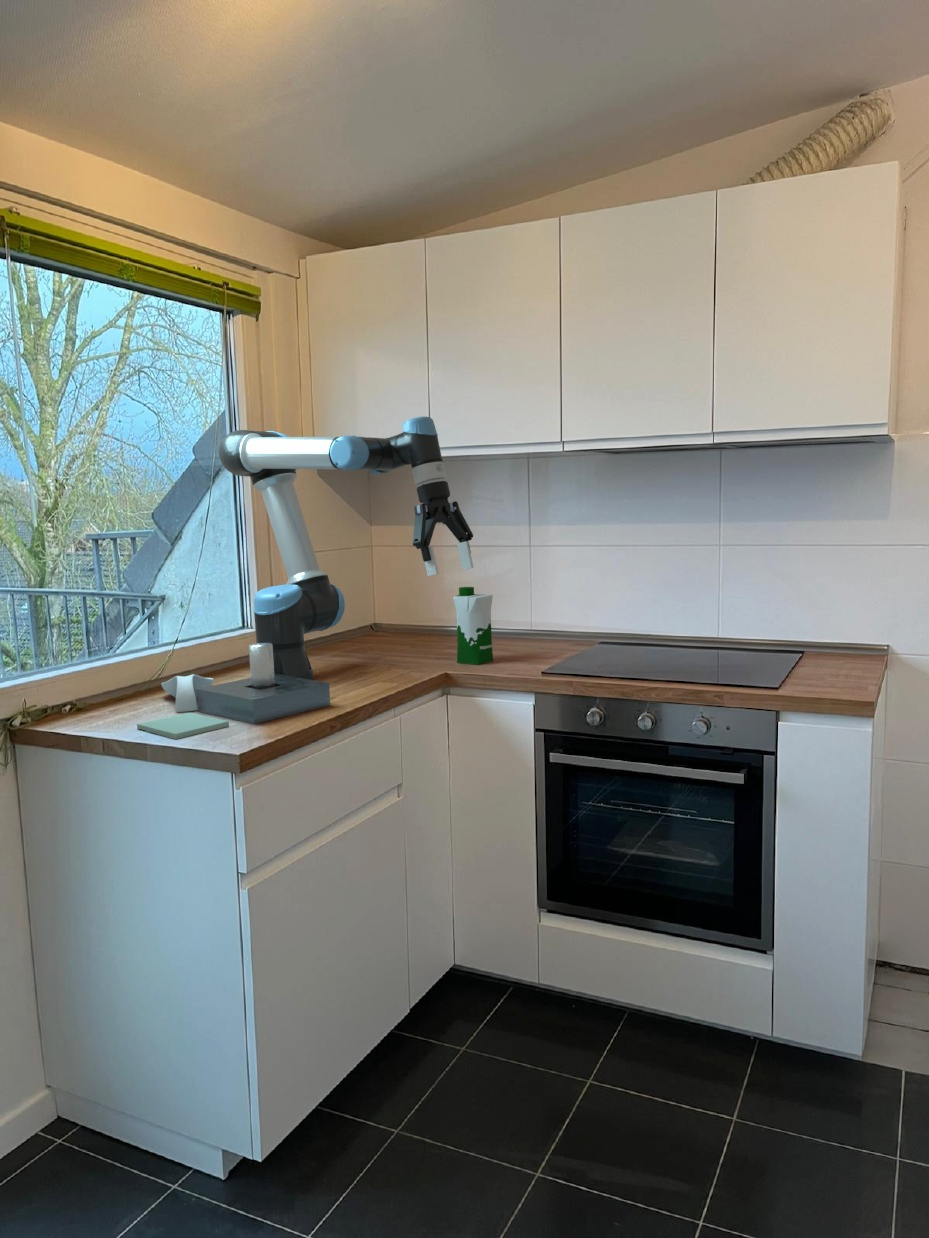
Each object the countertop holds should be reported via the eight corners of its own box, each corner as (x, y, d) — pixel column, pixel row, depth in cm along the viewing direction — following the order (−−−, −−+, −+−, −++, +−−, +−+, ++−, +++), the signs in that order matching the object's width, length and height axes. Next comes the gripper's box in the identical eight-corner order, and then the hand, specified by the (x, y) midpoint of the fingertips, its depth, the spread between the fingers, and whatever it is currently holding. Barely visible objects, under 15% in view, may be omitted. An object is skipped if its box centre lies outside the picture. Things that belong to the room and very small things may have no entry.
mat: (137, 728, 185) (137, 724, 185) (189, 716, 194) (189, 712, 194) (175, 739, 176) (175, 734, 176) (228, 726, 185) (228, 721, 185)
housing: (198, 711, 199) (196, 688, 199) (273, 694, 214) (272, 673, 214) (254, 724, 186) (252, 699, 186) (330, 705, 201) (329, 682, 200)
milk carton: (471, 658, 254) (469, 585, 252) (498, 660, 249) (496, 586, 246) (451, 663, 247) (449, 588, 245) (479, 666, 242) (476, 590, 239)
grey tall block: (248, 709, 200) (243, 645, 198) (266, 704, 204) (263, 642, 202) (262, 712, 197) (258, 647, 195) (281, 707, 200) (277, 644, 199)
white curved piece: (163, 694, 220) (161, 664, 219) (214, 689, 224) (212, 660, 223) (159, 715, 198) (157, 682, 197) (216, 710, 201) (214, 678, 200)
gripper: (409, 481, 205) (429, 574, 205) (475, 478, 225) (493, 563, 225) (384, 489, 210) (405, 580, 210) (451, 485, 229) (470, 569, 230)
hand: (451, 572), depth 218 cm, fingers open, 13 cm apart
